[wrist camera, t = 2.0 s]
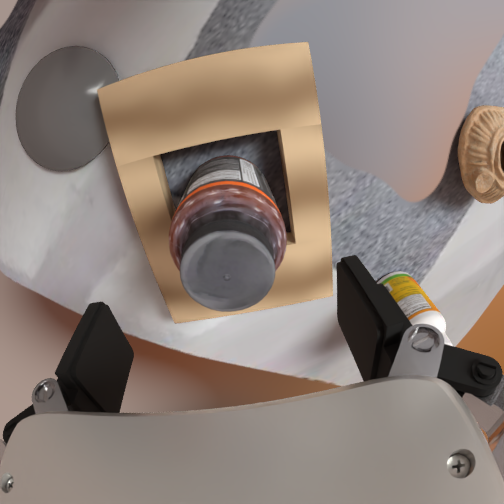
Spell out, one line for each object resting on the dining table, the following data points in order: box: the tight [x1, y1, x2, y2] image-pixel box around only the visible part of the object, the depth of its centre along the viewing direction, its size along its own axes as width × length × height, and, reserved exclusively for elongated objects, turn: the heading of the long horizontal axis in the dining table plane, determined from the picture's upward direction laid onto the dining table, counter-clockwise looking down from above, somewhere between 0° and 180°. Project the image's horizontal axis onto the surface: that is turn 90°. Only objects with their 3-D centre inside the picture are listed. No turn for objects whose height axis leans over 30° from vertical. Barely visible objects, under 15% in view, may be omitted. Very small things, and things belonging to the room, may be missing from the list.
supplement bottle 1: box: [169, 155, 287, 312], centre depth 17 cm, size 6×6×11 cm
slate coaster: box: [16, 46, 119, 171], centre depth 17 cm, size 10×10×1 cm
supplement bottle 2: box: [377, 271, 453, 346], centre depth 24 cm, size 5×5×10 cm
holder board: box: [97, 42, 333, 323], centre depth 21 cm, size 20×14×2 cm
